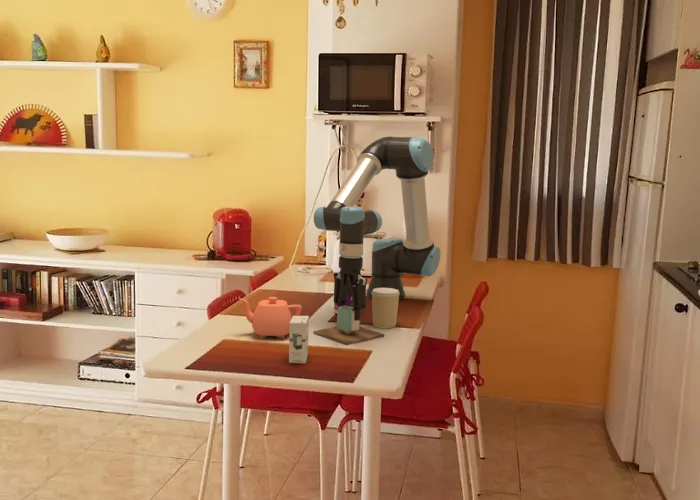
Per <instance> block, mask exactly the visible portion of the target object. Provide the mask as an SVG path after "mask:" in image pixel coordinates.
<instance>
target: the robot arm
mask: <svg viewBox="0 0 700 500" xmlns="http://www.w3.org/2000/svg"><path fill="white" fill-rule="evenodd" d="M433 161H434V151H433V148H432V146H431V144H430V142H429V141H428V140H427V139H426V138H424V137H423V138H421V137H417V136H416V137H415V136H413V137H411V136H409V137H408V136H384V137H381V138H378V139H376V140H374V141H373V142H371V143H369V145H367V146H366V147H365V148H364V149H363V150H362V151H361V152H360V154H359V155H358V156H357V159H356V164H355V165H354V167H353V169H352V170H351V172H350V173H349V174H348V176H347V177H346V179H345V180H344V182H343V183H342V185H341V186H339V187H340V188H339V189H338V191H337V192H336V193H335V195H334V196H333V198H332V199H331V200H330V202H329V203H328V204H327V206H326V207H325V206H320V207H317V208H316V209H315V211H314V214H313V223H314V226H315V227H316V228H317V229H318V230H322V231H323V230H324V231H330V232H331V231H332V232H339V244H338V245H339V249H338V251H339V252H338V254H339V257H338V268H339V269H340V270H339V271H337V272H334V273H333V278H334V283H333V284H334V285H333V287H334V288H333V304H334V303H337V305H338V308H341V307H347V306H344V305H346V298H347V294H348V290H349V289H350V290H351V295H352V302H353V309H352V312H351V331H354V330H359V320H360V321H361V311H362V310H365V309H366V308H367V304H366V303H367V301H366V300H367V298H368V299H369V300H372V291H373V289H375V288H393V289H397V290H398V291H399V293H400V294H399V301H402V300H404V299H405V298H406V293H405V290H404V284H403V282H402V281H403V280H402V274H407V275H415V276H416V275H417V276H421V277H423V276H424V277H431V276H433V275H434V274H436V271H437V269H438V267H439V264H440V260H441V249H440V247H439V246H437V245H435V241H434V238H433V237H431V236H430V230H429V229H430V226H429V217H428V205H427V194H426V181H425V178H426V176H428V175H429V172H430V170H432V167H433V164H434V162H433ZM383 170H395V176H396V178H397V179H399V180H400V184H401V185H400V186H401V195H402V203H403V205H402V206H403V218H404V225H405V227H404V228H405V236H406V238H405V239H404V240H403V238H400V237H392V238H389V237H388V238H383V239H382V238H381V239H377V240H374V242H373V243H372V249H371V277H370V280H369V283H368V278H367V277H366V278H364V277H362V273H361V270H362V269H363V266H364V265H363V262H364V258H363V257H362V256H363V255H364V236H365V235H372V234H374V233H376V232H378V231H379V230H380V229H381V227H382V225H383V218H382V215H381V214H380V213H379V212H378V211H377V210H373V209H371V210H370V209H367V210H365V209H364V208H363V207H361V206H356V204H357V203H358V201H359V200H360V198H361V197H362V195H363V193H364V192H365V190H366V189H367V188H368V187H369V184H370V183H371V182H372V180H373V178H374V177H375V176H377V175H379V174H380V173H381V172H382V171H383ZM367 283H368V288H367ZM337 298H338V299H337Z"/></svg>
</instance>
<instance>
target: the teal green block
mask: <svg viewBox="0 0 700 500" xmlns="http://www.w3.org/2000/svg"><path fill="white" fill-rule="evenodd" d="M352 309H353V307H351V306H347V307H341V308H337V313H336V315H337V316H336V326H337V328H338V329H341V330H344V331H347V332H349V331H351V312H352ZM360 327H361V319H360V320H359V329H360Z"/></svg>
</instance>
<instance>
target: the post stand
mask: <svg viewBox="0 0 700 500" xmlns="http://www.w3.org/2000/svg"><path fill="white" fill-rule="evenodd" d="M312 332H313V334H314V335H315V336H316V335H317V336H319V337H322V338H324V339H329V340H331V341H334V342H336V343H340V344H342V345H345V346H349V345H353V344H357V343H361V342H366V341H371V340H375V339H379V338H384V337H385V334H384V333H381V332H378V331H375V330H372V329H369V328H366V327H362V326H360V329H359V330H354V331H349V332H347V331H344V330H341V329H338V328H337V325H336V326H331V327H326V328H321V329H318V330H313V331H312Z"/></svg>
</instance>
